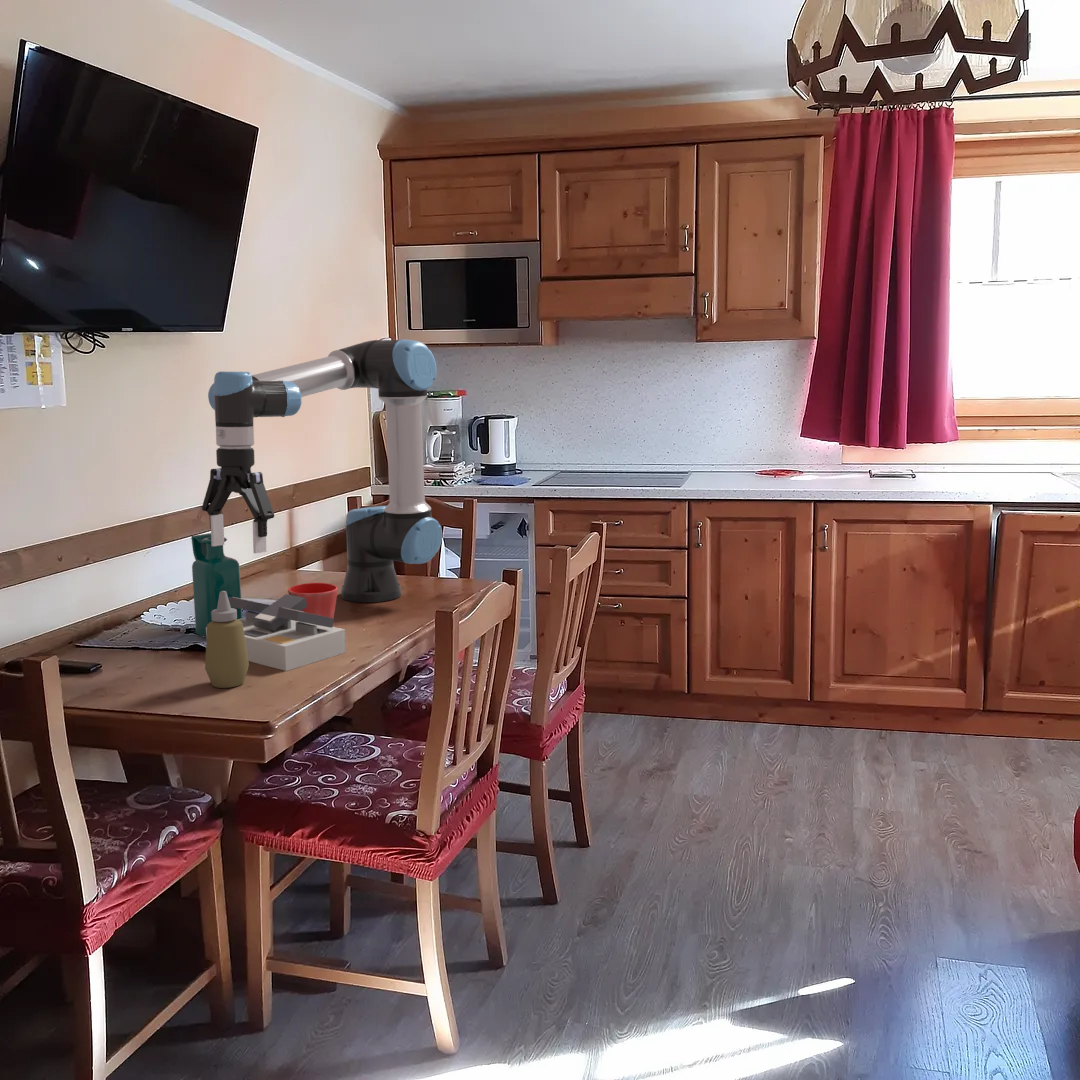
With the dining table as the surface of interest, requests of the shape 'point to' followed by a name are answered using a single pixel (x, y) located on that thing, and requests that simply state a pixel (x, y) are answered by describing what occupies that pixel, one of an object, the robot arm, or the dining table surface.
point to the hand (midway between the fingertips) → (238, 549)
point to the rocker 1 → (247, 604)
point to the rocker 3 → (305, 617)
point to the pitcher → (212, 579)
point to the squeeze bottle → (225, 646)
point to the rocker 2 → (269, 615)
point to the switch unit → (291, 643)
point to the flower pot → (317, 597)
